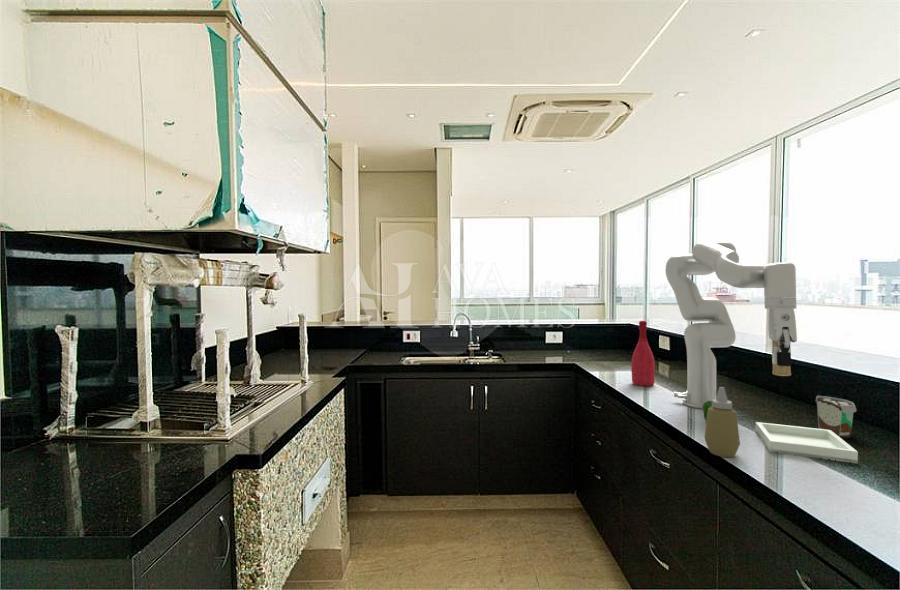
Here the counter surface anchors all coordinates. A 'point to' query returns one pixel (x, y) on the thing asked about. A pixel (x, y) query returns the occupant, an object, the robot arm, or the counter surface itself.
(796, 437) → the tray
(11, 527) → the counter surface
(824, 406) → the food container
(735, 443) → the squeeze bottle
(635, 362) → the wine bottle
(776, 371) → the sprinkles bottle
